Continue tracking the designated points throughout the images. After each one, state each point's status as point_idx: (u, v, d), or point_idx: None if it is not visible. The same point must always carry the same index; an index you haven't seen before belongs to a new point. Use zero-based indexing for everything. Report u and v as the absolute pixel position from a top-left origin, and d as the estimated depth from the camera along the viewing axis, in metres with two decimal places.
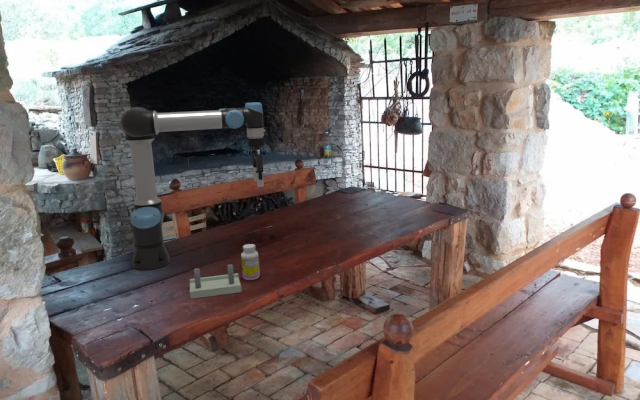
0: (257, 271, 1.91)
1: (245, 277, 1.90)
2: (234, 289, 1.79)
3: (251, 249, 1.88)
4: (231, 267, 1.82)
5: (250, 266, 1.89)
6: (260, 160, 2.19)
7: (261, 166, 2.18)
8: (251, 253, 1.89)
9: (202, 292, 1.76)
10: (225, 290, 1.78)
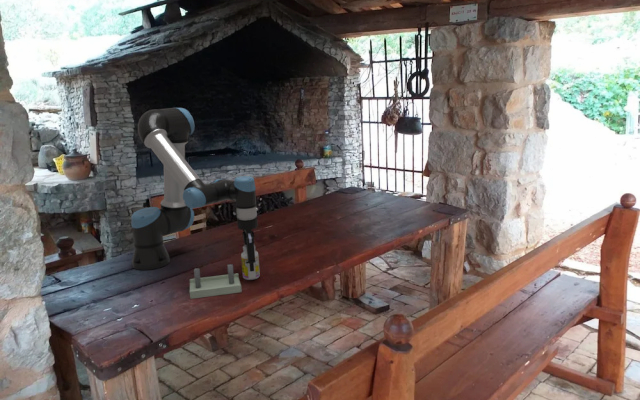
0: (257, 271, 1.91)
1: (245, 277, 1.90)
2: (234, 289, 1.79)
3: None
4: (231, 267, 1.82)
5: None
6: (252, 250, 1.84)
7: (253, 257, 1.84)
8: None
9: (202, 292, 1.76)
10: (225, 290, 1.78)
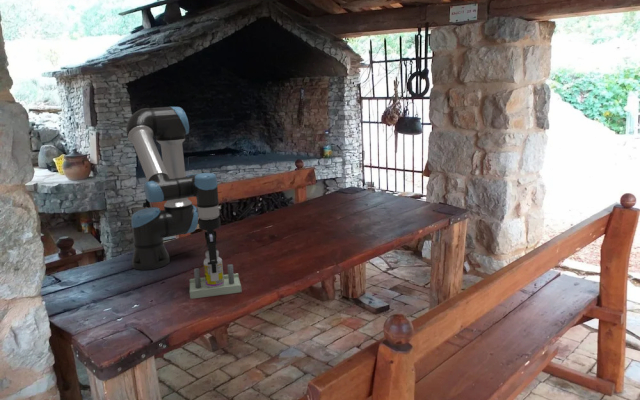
0: (221, 279, 1.81)
1: (208, 285, 1.80)
2: (234, 289, 1.79)
3: None
4: (231, 267, 1.82)
5: None
6: (213, 249, 1.72)
7: (214, 257, 1.72)
8: None
9: (202, 292, 1.76)
10: (225, 290, 1.78)
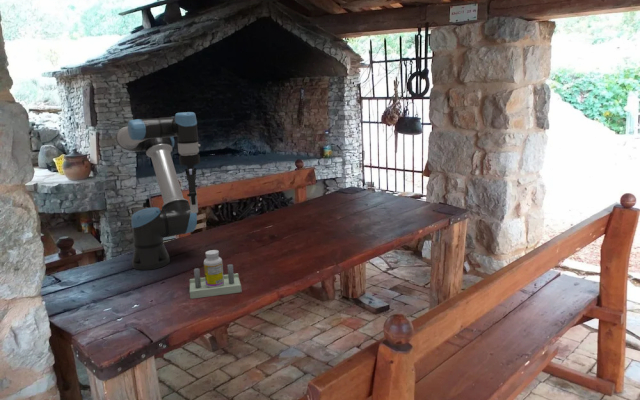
0: (221, 279, 1.81)
1: (208, 285, 1.80)
2: (234, 289, 1.79)
3: (213, 256, 1.78)
4: (231, 267, 1.82)
5: (213, 273, 1.78)
6: (192, 181, 1.82)
7: (193, 189, 1.82)
8: (214, 260, 1.78)
9: (202, 292, 1.76)
10: (225, 290, 1.78)
